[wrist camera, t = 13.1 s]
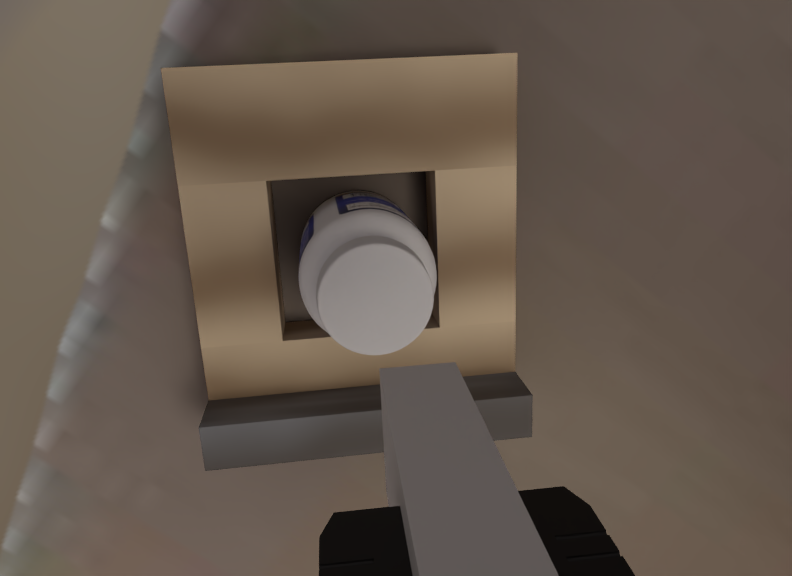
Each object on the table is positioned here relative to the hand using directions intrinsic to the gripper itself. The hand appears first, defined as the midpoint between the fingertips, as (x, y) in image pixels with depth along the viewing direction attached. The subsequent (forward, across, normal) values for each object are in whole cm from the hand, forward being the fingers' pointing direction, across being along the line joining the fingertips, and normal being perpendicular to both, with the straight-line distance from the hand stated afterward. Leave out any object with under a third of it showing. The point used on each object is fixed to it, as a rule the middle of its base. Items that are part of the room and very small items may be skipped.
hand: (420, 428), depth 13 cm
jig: (+18, -1, 0) cm, 18 cm away
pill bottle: (+18, 0, 0) cm, 18 cm away
